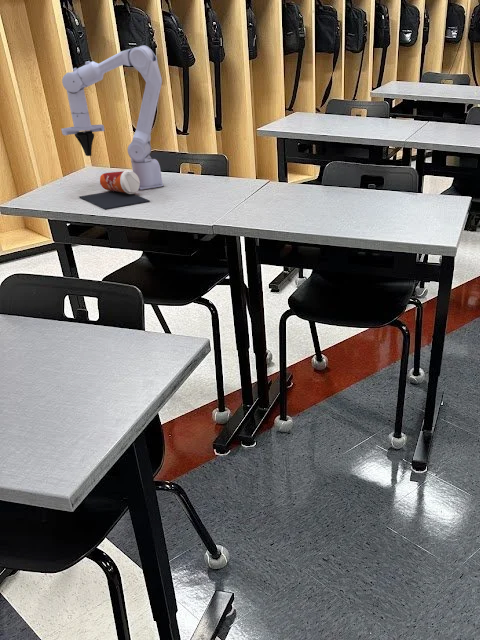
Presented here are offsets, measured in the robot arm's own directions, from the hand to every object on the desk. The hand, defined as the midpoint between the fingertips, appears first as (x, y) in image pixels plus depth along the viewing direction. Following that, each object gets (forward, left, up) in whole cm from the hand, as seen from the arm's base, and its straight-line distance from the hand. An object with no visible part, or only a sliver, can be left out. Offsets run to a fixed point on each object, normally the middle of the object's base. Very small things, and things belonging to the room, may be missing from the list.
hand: (88, 155), depth 233 cm
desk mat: (+3, +22, -10) cm, 25 cm away
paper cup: (-1, +9, -7) cm, 12 cm away
